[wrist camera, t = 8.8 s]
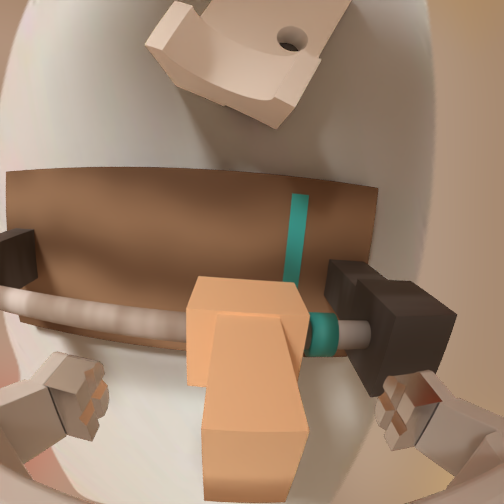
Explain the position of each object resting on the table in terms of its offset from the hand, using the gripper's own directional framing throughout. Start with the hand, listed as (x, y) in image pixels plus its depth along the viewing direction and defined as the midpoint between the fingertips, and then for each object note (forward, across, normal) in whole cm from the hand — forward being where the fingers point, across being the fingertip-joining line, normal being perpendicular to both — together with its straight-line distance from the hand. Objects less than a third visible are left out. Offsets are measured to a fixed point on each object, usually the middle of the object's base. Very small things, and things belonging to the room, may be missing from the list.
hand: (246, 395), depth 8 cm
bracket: (+14, -1, -16) cm, 21 cm away
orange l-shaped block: (+6, 0, 0) cm, 6 cm away
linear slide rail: (+13, +5, 0) cm, 14 cm away
